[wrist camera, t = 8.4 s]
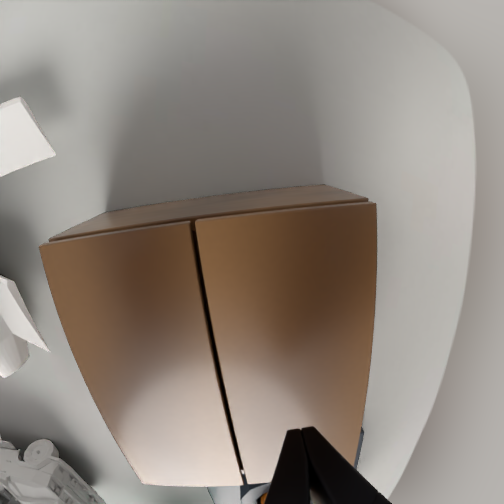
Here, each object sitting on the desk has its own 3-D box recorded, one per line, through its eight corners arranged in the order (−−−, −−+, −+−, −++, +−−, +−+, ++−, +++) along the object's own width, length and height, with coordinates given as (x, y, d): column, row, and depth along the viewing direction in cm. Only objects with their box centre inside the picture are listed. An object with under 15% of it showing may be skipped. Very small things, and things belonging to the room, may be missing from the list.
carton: (324, 184, 15) (379, 201, 9) (328, 394, 19) (354, 468, 13) (104, 212, 15) (36, 244, 9) (160, 410, 18) (141, 484, 12)
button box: (359, 421, 20) (372, 450, 17) (347, 485, 22) (354, 509, 20) (193, 442, 19) (189, 473, 17) (218, 502, 22) (217, 527, 19)
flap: (371, 200, 9) (376, 203, 9) (351, 462, 13) (353, 468, 13) (196, 219, 9) (194, 221, 9) (246, 478, 13) (247, 484, 13)
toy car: (125, 496, 22) (106, 575, 13) (4, 473, 23) (-21, 524, 13) (68, 431, 19) (25, 523, 10) (-43, 416, 20) (-80, 466, 10)
